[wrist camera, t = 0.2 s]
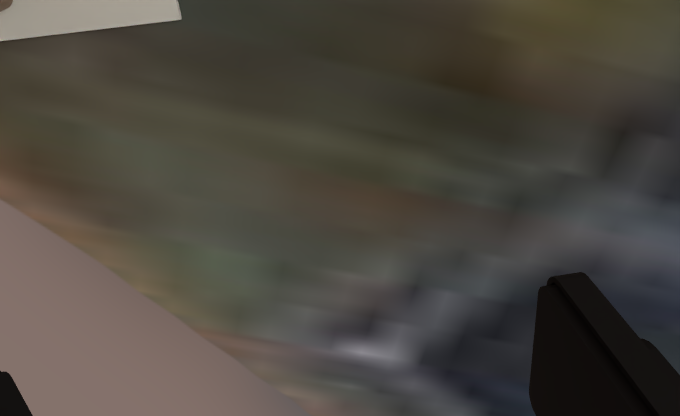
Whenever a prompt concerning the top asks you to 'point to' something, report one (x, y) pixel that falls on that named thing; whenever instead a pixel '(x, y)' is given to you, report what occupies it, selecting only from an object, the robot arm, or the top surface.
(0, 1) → the fence panel
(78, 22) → the card
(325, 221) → the top surface
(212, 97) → the top surface
